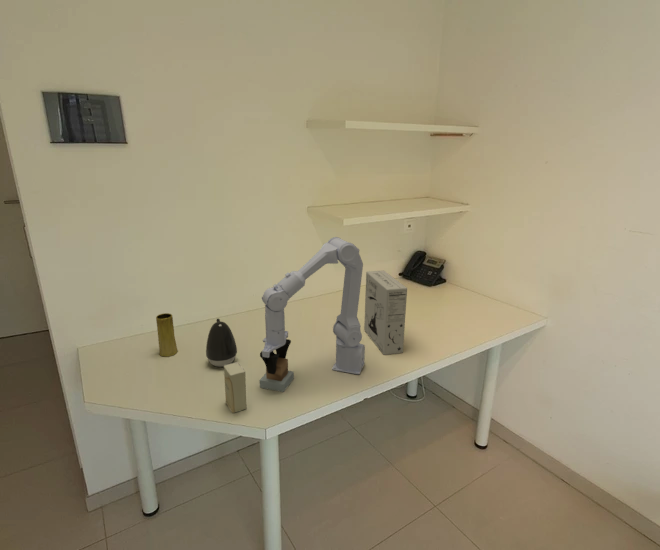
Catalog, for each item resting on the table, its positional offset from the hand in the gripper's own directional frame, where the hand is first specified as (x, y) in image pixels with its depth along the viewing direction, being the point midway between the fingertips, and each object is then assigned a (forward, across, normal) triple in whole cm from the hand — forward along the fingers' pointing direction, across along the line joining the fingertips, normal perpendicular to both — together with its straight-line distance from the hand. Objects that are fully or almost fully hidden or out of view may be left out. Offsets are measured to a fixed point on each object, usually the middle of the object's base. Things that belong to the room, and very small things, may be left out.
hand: (276, 367), depth 126 cm
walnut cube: (+3, 0, 0) cm, 3 cm away
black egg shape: (+6, -6, -23) cm, 24 cm away
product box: (+6, -40, +26) cm, 48 cm away
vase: (+6, -6, -45) cm, 46 cm away
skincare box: (+6, +14, -6) cm, 17 cm away
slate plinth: (+6, 0, 0) cm, 6 cm away
